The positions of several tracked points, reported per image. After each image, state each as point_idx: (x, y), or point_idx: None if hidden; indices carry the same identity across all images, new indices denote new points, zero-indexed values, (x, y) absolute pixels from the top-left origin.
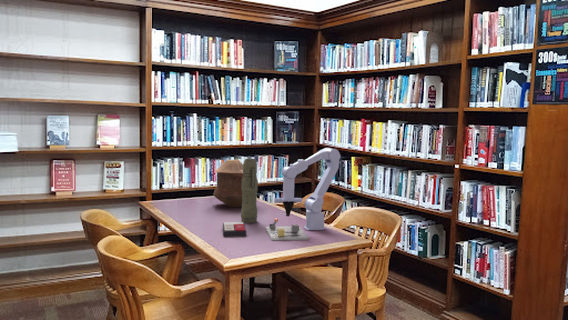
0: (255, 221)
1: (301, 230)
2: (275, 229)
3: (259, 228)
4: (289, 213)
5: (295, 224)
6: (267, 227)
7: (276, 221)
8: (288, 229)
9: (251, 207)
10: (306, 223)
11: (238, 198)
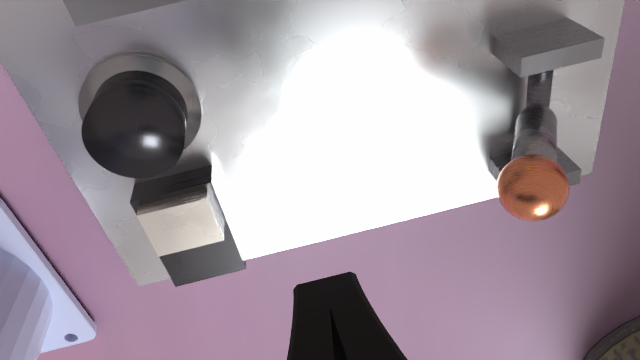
0: (609, 348)
1: (29, 55)
2: (490, 49)
3: (637, 164)
4: (305, 335)
5: (178, 251)
6: (579, 139)
7: (528, 156)
8: (278, 85)
9: None
10: (6, 317)
11: None
